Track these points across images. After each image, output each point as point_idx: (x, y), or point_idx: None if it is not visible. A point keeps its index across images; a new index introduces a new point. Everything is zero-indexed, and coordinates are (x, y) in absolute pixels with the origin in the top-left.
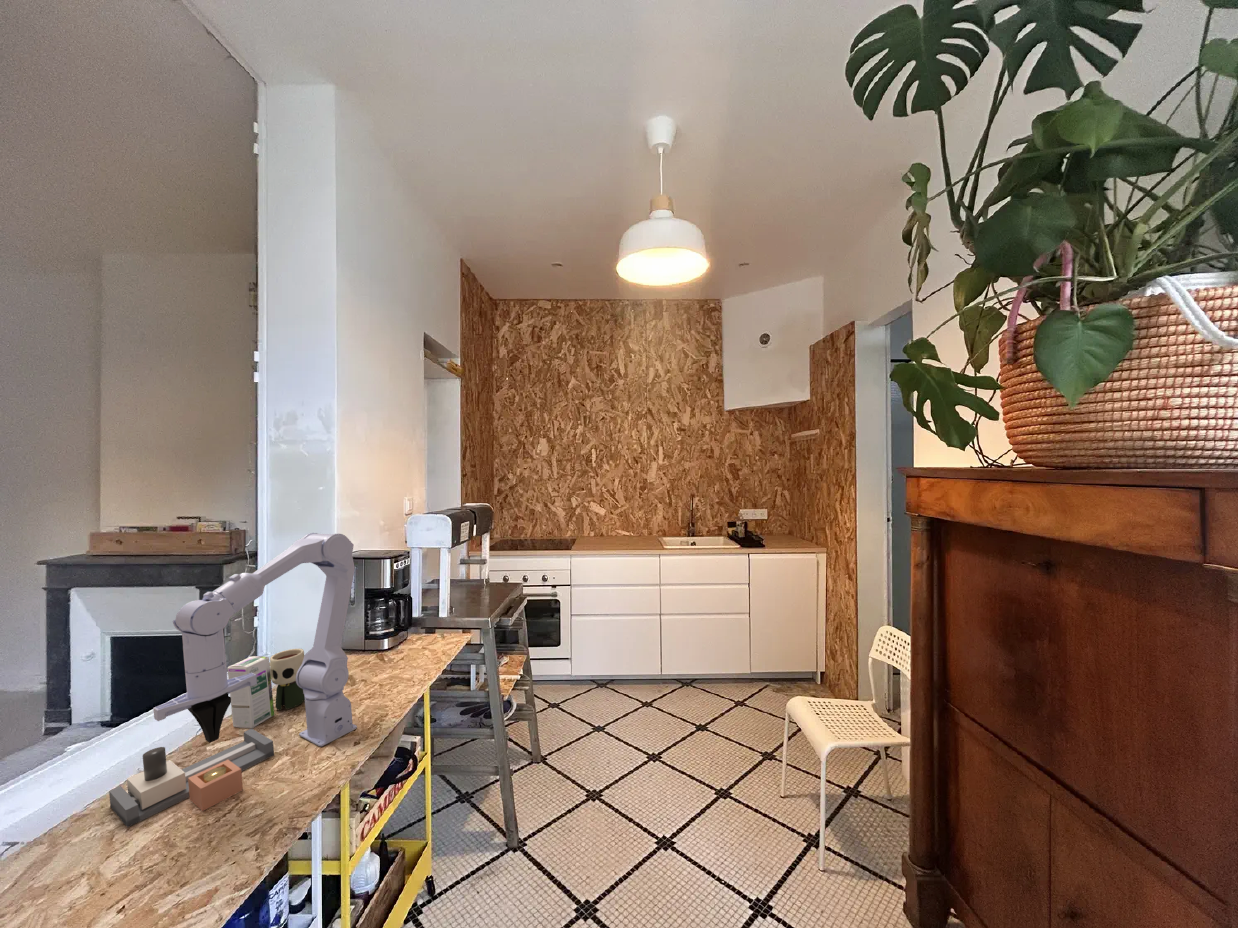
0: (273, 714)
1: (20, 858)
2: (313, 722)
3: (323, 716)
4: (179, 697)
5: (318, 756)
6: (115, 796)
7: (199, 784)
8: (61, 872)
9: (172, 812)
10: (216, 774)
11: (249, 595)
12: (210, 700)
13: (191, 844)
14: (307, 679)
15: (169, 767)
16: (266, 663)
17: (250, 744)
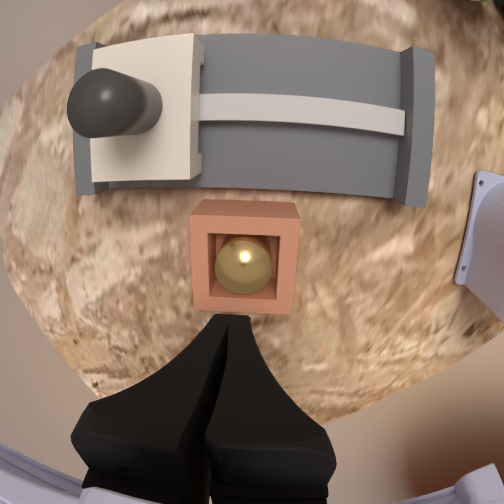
0: (483, 1)
1: (2, 120)
2: (497, 258)
3: (500, 317)
4: (10, 499)
5: (426, 309)
6: None
7: (198, 285)
8: (30, 231)
9: (164, 218)
10: (241, 284)
11: None
12: (217, 500)
13: (167, 357)
14: None
15: (174, 90)
16: None
17: (396, 120)
